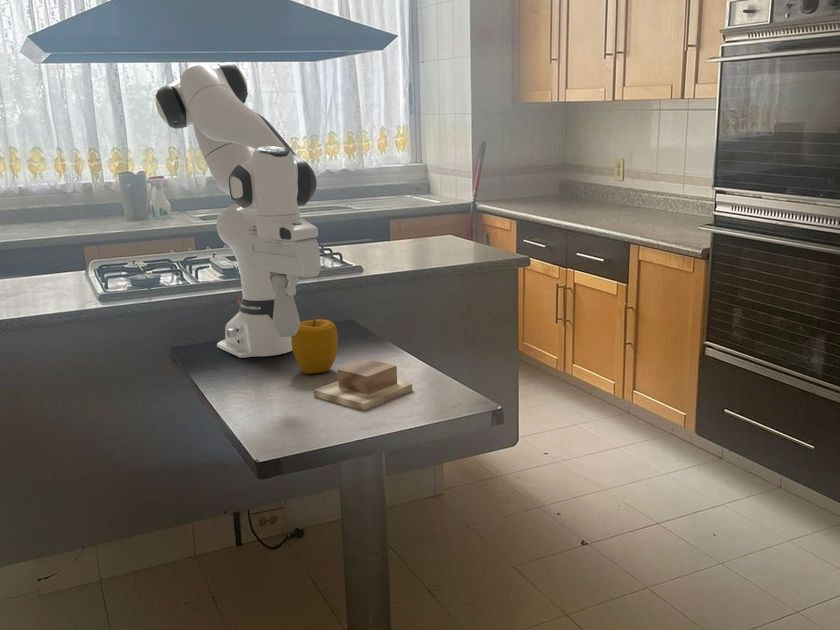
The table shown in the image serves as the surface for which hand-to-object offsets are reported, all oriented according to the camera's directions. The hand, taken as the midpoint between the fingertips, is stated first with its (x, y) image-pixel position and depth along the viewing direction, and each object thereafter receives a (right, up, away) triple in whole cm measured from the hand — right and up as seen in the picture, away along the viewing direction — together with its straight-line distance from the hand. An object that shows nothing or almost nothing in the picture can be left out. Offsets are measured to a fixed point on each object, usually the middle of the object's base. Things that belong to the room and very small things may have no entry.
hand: (283, 293), depth 168 cm
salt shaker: (0, -9, +2) cm, 9 cm away
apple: (+4, -18, +23) cm, 29 cm away
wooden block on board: (+16, -21, +7) cm, 28 cm away
